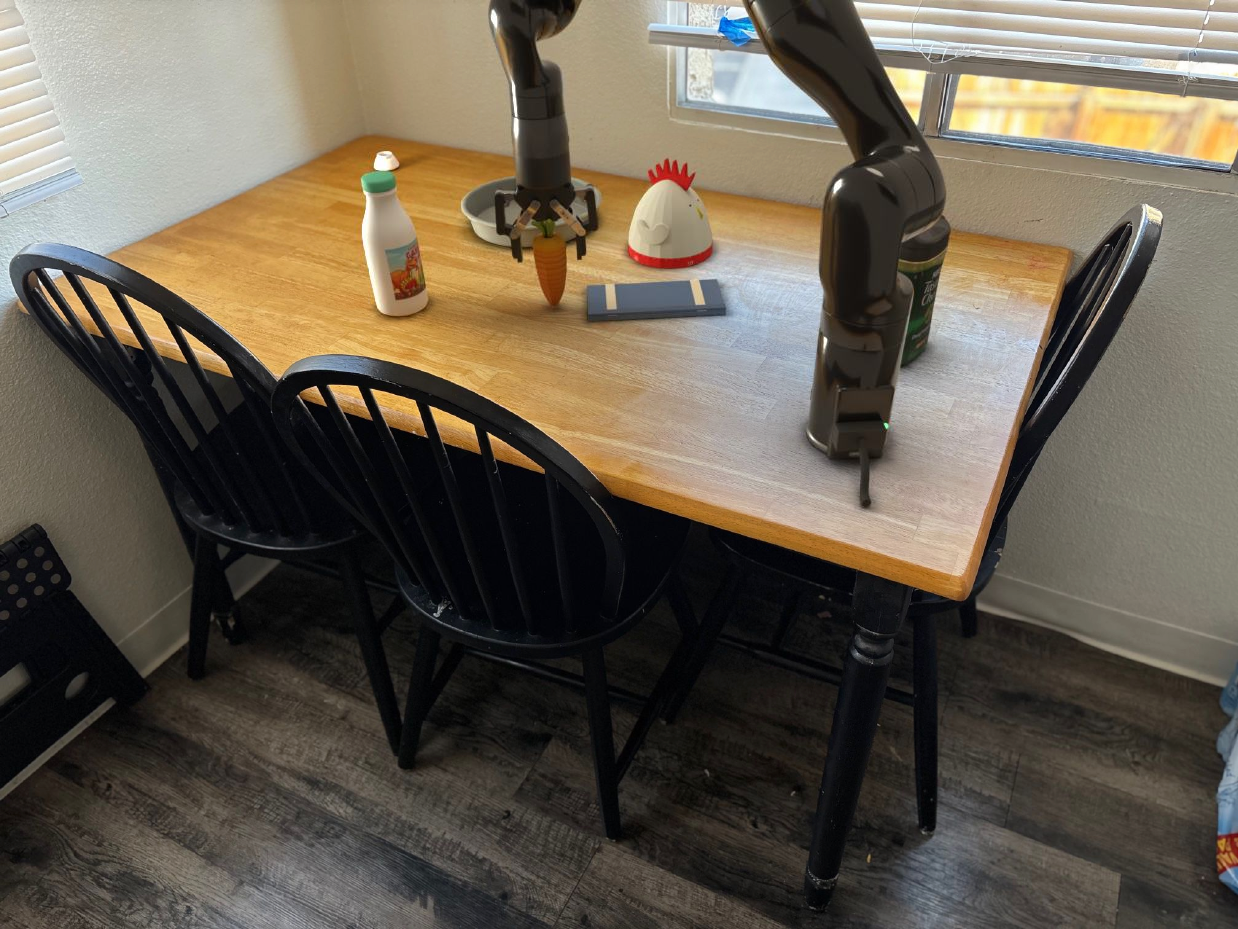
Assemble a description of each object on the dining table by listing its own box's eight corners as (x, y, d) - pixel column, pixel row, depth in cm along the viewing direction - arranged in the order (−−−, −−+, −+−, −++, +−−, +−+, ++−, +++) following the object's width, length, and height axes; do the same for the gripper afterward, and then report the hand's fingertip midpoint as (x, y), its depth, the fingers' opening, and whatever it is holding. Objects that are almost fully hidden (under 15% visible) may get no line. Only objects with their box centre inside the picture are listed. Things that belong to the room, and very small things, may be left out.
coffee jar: (902, 373, 117) (928, 239, 106) (848, 354, 121) (867, 222, 110) (936, 343, 123) (963, 212, 111) (883, 326, 127) (904, 198, 115)
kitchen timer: (686, 275, 142) (687, 181, 132) (612, 256, 148) (609, 166, 138) (726, 242, 151) (730, 152, 141) (655, 226, 157) (655, 139, 148)
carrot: (566, 316, 132) (559, 218, 123) (534, 313, 133) (524, 216, 124) (574, 300, 136) (567, 204, 127) (542, 298, 137) (533, 202, 128)
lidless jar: (403, 164, 186) (382, 162, 187) (401, 150, 184) (379, 148, 185) (391, 173, 182) (370, 171, 183) (388, 158, 180) (367, 156, 182)
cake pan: (550, 263, 146) (548, 237, 144) (435, 235, 157) (431, 210, 154) (628, 210, 163) (628, 186, 160) (519, 188, 173) (517, 164, 170)
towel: (725, 314, 131) (726, 307, 130) (588, 321, 131) (588, 314, 130) (716, 283, 139) (717, 276, 138) (587, 290, 139) (586, 282, 138)
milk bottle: (379, 321, 133) (349, 188, 121) (375, 298, 139) (347, 169, 127) (431, 313, 134) (407, 181, 122) (426, 290, 140) (403, 162, 128)
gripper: (485, 158, 117) (499, 273, 127) (595, 153, 117) (600, 268, 127) (489, 139, 123) (502, 250, 133) (593, 134, 123) (598, 245, 133)
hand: (550, 259), depth 130 cm, fingers open, 8 cm apart
